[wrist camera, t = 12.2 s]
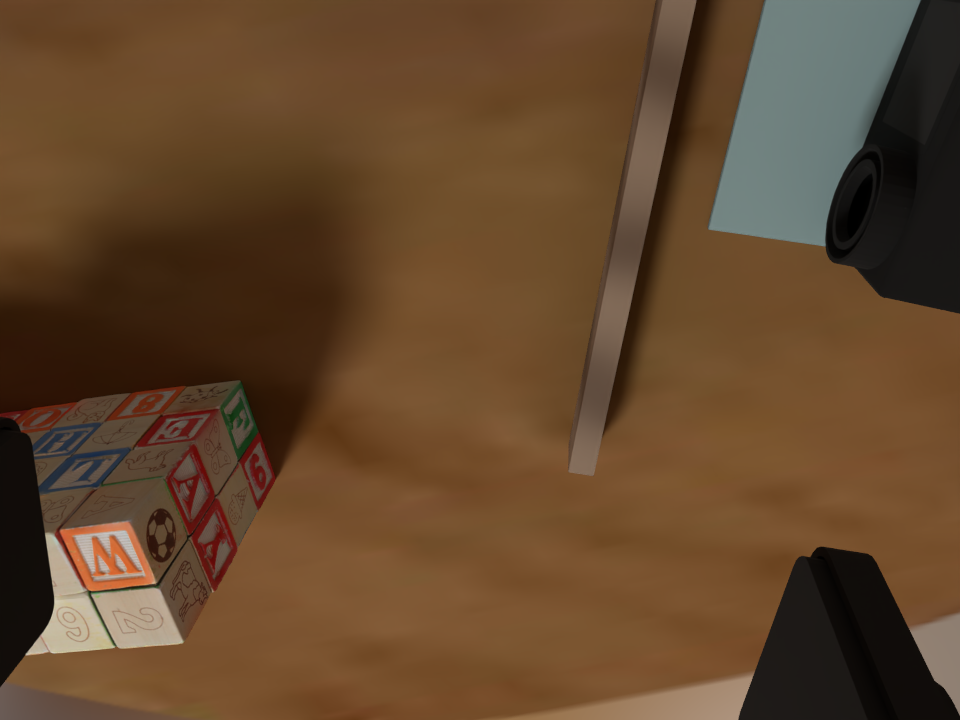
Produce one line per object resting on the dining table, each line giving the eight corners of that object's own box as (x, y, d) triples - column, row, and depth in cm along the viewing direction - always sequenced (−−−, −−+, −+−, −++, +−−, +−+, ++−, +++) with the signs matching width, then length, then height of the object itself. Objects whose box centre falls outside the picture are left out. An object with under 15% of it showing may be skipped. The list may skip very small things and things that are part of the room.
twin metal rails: (675, -96, 31) (682, -100, 29) (1255, -21, 31) (1309, -18, 28) (568, 444, 42) (568, 472, 40) (996, 511, 41) (1020, 543, 39)
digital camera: (897, -32, 31) (977, -27, 25) (1040, -1, 31) (1156, 11, 25) (798, 231, 36) (845, 290, 30) (922, 258, 36) (995, 323, 30)
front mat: (777, -52, 32) (779, -52, 31) (1128, -6, 31) (1132, -6, 31) (707, 227, 37) (708, 229, 36) (1009, 271, 36) (1012, 273, 36)
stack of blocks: (-64, 517, 49) (-249, 682, 38) (-116, 425, 46) (-332, 573, 35) (280, 478, 45) (184, 649, 34) (244, 375, 42) (128, 524, 32)
